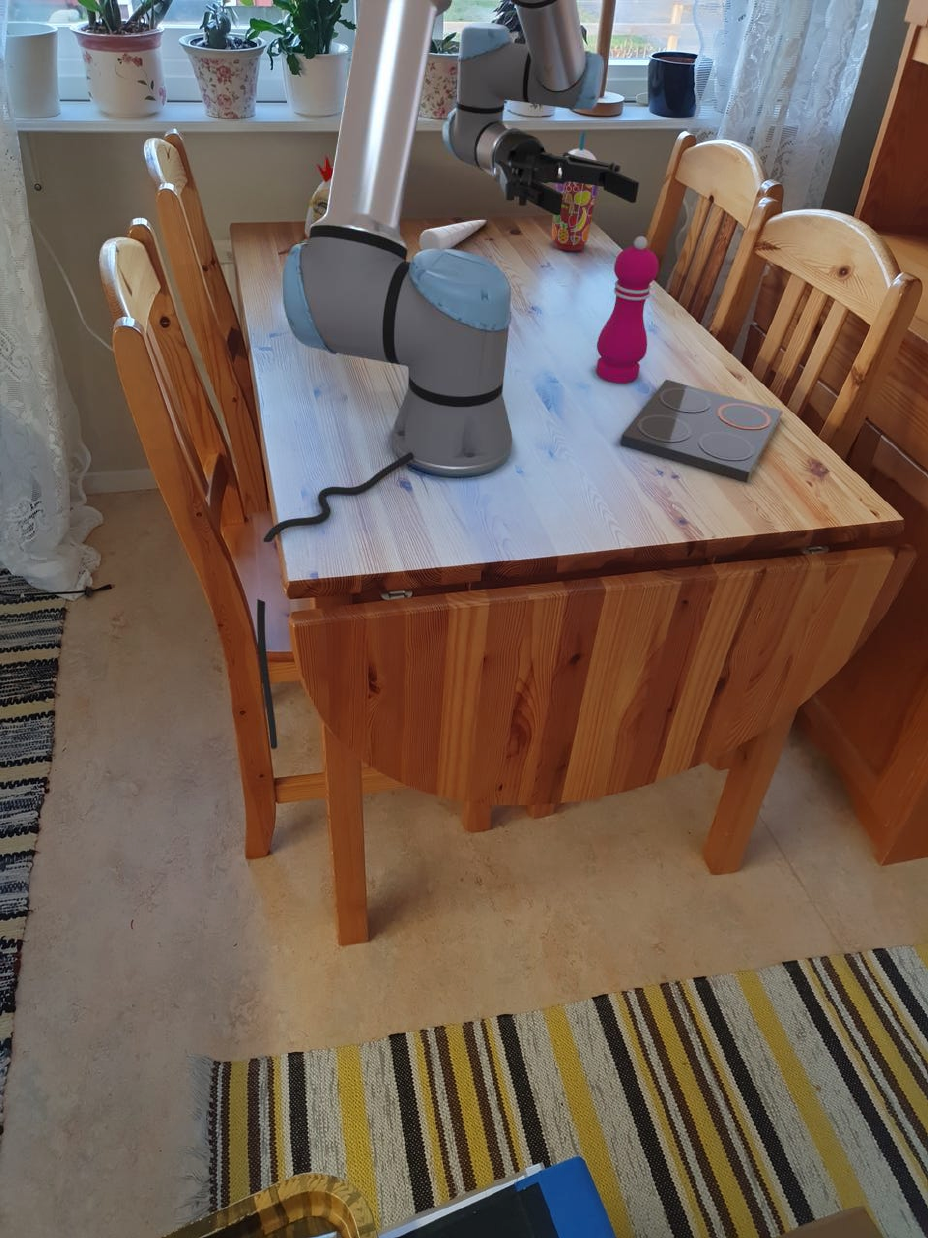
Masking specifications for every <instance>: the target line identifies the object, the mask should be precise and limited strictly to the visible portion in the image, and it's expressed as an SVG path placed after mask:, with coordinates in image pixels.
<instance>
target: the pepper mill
mask: <svg viewBox="0 0 928 1238" xmlns="http://www.w3.org/2000/svg"><path fill="white" fill-rule="evenodd" d="M647 246H648V240H647V238H646V237H645V236H642V235H640V236H637V237H636V238H635V239H634V241H633V246H629V247H627V248H625V249H623V250H622V251H621V252H619V254H618V255H617V257H616V258H615V261H614V266H613V272H614V275H615V277H616V281H615V283H614V288H613V293H614V295H616V296H615V301H614V306H613V308H612V312H611V314H610V316H609V318H608V320H607V321H606V323H605V325H604V326H603V327H602V329H601V332H600V334H599V336H598V339H597V343H596V349H597V352H598V354H599V356H600V357H599V358H598V359H597V363H596V369H595V372H596V375H597V376H598V377H599V378H600V379H602V380H604V381H606V382H609V383H613V384H629V383H633V382H634V381H636V380H638V377H639V375H640V374H639V373H640V368H641V366H640V363H639V362H640V361H642V360H643V359H644V358H645V356H646V354H647V349H648V336H647V331H646V326H645V322H644V308H645V303H646V299H648V298H649V297H650V296H651V295H650V294H651V293H650V291H651V289H652V286H651V283H652V282H654V281H655V279H656V278H657V275H658V273H659V260H658V258H657V255H656V254H655V253H654V252H653V251H652V250H651V249H648V248H647Z"/></svg>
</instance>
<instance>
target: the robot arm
mask: <svg viewBox="0 0 928 1238" xmlns="http://www.w3.org/2000/svg"><path fill="white" fill-rule="evenodd" d="M577 1H578V0H509V2H511V3H512V4H513V5H514V6H515V10H516V14H517V16H518V21H519V23H520V26H521V29H522V33H523V36H524V40H525V42H526V44H524V43H517V42H511V40H512V39H511V32H510V29H509V28H508V27H507V26H506V25H504V24H498V23H494V22H483V21H480V22H478V21H477V22H470V23H468V24H465V25H464V26H463V28H461V31H460V39H459V48H458V49H459V50H458V56H457V86H456V105H455V108H454V109H452V110H451V111H450V112H449V113H448V115H447V116H446V119H445V121H444V124H443V127H442V140H443V144H444V146H445V148H446V149H447V151H448V152H449V153H450V154H452V155H453V156H455V157H456V158H457V159H458V160H460V161H461V162H462V163H465V164H467V165H471V166H472V167H475V168H477V169H479V170H480V171H483V172H484V173H486V174H488V175H490V176H491V177H493V180H494V181H495V182H497V183H498V184H499V187H500V189H501V191H502V193H503V196H504V198H505V200H507V201H510V202H511V201H514V200H515V197H518V202H517V205H519V206H520V207H525V206H528V205H527V204H528V202H530V203H532V205H535V206H536V207H539V208H541V209H543V210H545V211H547V212H548V213H550V214H552V215H553V214H554V215H560V214H561V206H562V198H563V194H561V193H559V192H557V191H556V190H555V188H554V189H553V188H551V187H549V186H548V185H547V184H548V183H552V184H553V183H554V184H555V183H559V184H564V183H565V182H566V181H569V182H576V183H582V184H589V185H595V186H598V187H603V191H605V192H608V193H609V194H612V195H614V196H616V197H617V198H620V199H622V200H625V201H626V202H629V203H630V204H634V203H636V202H637V197H638V192H639V186H640V182H639V181H637V180H634V179H633V178H630V177H627V176H626V175H623V174H622V173H621V169H622V166H621V165H618V164H616V163H615V162H611V163H609V162H604V161H600V160H597V159H596V160H597V161H596V160H592V159H587V158H583V157H578V156H575V155H572V154H570V153H568V152H566V151H565V152H563V153H562V154H561V155H562V156H561V155H554V154H553V153H552V152H546V149H545V147H544V144H543V143H542V141H541V140H540V139H539V138H538V137H536V136H534V135H532V134H529V133H528V132H525V131H523V130H521V129H520V128H517V127H515V126H513V125H510V124H508V123H506V122H503V121H504V110H505V104H506V103H505V102H506V101H510V102H518V103H519V102H520V103H526V104H533V105H540V106H541V105H542V106H548V107H554V108H561V109H566V110H570V111H575V110H583V111H591V110H594V108H596V106H597V105H598V102H599V99H600V96H601V91H602V86H603V81H604V71H605V70H604V69H605V62H604V57H603V56H602V55H600V54H599V53H596V52H595V53H594V52H591V51H590V50H585V45H584V39H583V33H582V26H581V19H580V14H579V8H578V7H579V6H578V2H577ZM452 3H453V0H360V5H359V10H358V16H357V22H356V29H355V34H354V41H353V47H352V52H351V53H352V54H351V58H350V59H351V60H350V65H349V72H348V78H347V85H346V89H345V90H346V91H345V97H344V102H343V109H342V114H341V121H340V125H339V126H340V127H339V133H338V139H337V145H336V152H335V155H336V157H335V156H334V159H335V163H334V162H333V166H334V169H333V176H332V182H331V188H330V194H329V200H328V206H327V213H326V214H325V215H324V217H322V218H321V219H319V220H318V221H316V222H315V223H313V224H312V225H311V229H310V235H309V241H308V243H301V242H300V243H298V244H295V245H294V246H292V247H291V249H290V250H289V252H288V256H287V257H286V258H285V259H286V260H285V263H284V266H283V276H282V299H283V308H284V313H285V317H286V319H287V324H288V326H289V328H290V331H291V332H292V334H293V335H294V337H295V339H296V340H297V341H298V342H300V343H301V344H302V345H304V346H305V347H308V348H312V349H317V350H321V351H325V352H327V353H329V354H331V355H337V354H339V355H345V356H351V357H357V358H360V359H361V358H362V359H367V360H373V361H378V362H384V363H389V364H394V365H400V366H405V367H407V369H408V372H407V373H408V380H407V381H408V382H407V383H408V384H407V390H406V393H405V395H404V398H403V401H402V403H401V406H400V408H399V411H398V414H397V417H396V419H395V422H394V424H393V430H392V448H393V451H394V453H395V454H396V456H397V457H398V459H396V460H394V461H393V462H391V463H390V464H389V465H387V466H385V467H384V468H382V469H381V470H380V471H379V472H377V473H376V474H374V475H373V476H372V477H371V478H369V479H368V480H367V481H365V482H363V483H362V484H359V485H356V486H351V487H346V486H345V487H343V486H329V487H325V488H323V489H322V490H321V491H319V493H318V495H317V500H318V503H319V505H320V507H321V510H322V512H320V513H319V514H318V515H315V516H309V517H296V518H290V519H285V520H283V521H281V522H279V523H277V524H275V525H274V526H273V527H272V528H270V529H269V531H268V532H267V533H266V534H265V536H264V537H263V539H262V541H263V543H270V542H272V541H273V540H274V538H275V537H276V536H277V535H278V534H279V533H281V532H282V531H283V530H286V529H290V528H295V527H303V526H313V525H317V524H320V523H323V522H324V521H326V520H327V519H328V518H329V517H330V515H331V507H330V504H329V503H328V501H327V499H326V498H327V497H328V496H329V495H343V496H344V495H346V496H347V495H348V496H351V495H358V494H361V493H364V492H366V491H367V490H369V489H371V488H373V487H374V486H375V485H377V484H378V483H379V482H380V481H381V480H382V479H384V478H385V477H387V476H388V475H390V474H391V473H392V472H395V471H396V470H397V469H399V468H400V467H402V466H404V465H405V464H406V465H408V466H409V467H412V468H414V469H415V470H417V471H420V472H423V473H426V474H430V475H434V476H440V477H448V478H449V477H450V478H465V477H473V476H475V477H476V476H478V475H479V476H480V475H483V474H487V473H490V472H492V471H494V470H496V469H498V468H500V467H501V466H503V465H504V464H505V463H506V462H508V460H509V458H510V456H511V454H512V448H513V447H512V446H513V434H512V432H513V431H512V428H511V424H510V420H509V415H508V411H507V408H506V403H505V399H504V395H503V391H504V379H505V370H506V359H507V352H508V351H507V349H508V341H509V340H508V339H509V331H510V325H511V322H512V312H511V300H512V299H511V298H512V287H511V283H510V280H509V278H508V277H507V275H506V274H505V272H503V271H502V269H500V268H499V267H498V266H497V265H496V264H494V263H493V262H492V261H490V260H488V259H486V258H484V257H481V256H479V255H476V254H473V253H471V252H467V251H463V250H459V249H453V248H450V249H444V250H439V249H427V250H424V251H421V250H420V251H419V252H417V253H415V255H414V256H413V257H412V259H411V261H407V258H408V251H409V247H408V245H407V244H406V243H405V241H404V239H403V238H402V236H401V233H400V234H399V231H398V229H399V226H400V222H401V217H402V211H403V205H404V199H405V194H406V188H407V183H408V178H409V173H410V166H411V160H412V154H413V148H414V144H415V143H414V142H415V138H416V131H417V126H418V120H419V114H420V110H421V109H420V108H421V103H422V98H423V91H424V86H425V80H426V75H427V69H428V63H429V58H430V53H431V52H430V51H431V46H432V39H433V34H434V29H435V23H436V18H438V17H439V16H440V15H442V14H443V13H445V12H447V10H449V9H450V7H452ZM559 168H561V171H562V175H561V178H559V177H558V172H559ZM256 604H257V605H256V632H257V634H256V635H257V649H258V660H259V666H260V676H261V680H262V690H263V695H264V696H263V697H264V701H265V709H266V716H267V724H268V733H269V747H270V749H271V750H276V749H277V748H278V738H277V737H278V736H277V726H276V720H275V710H274V702H273V695H272V691H271V690H272V687H271V680H270V674H269V673H270V672H269V665H268V658H267V646H266V645H267V644H266V601H264V600H261V599H259V598H257V602H256Z"/></svg>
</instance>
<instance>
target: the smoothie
mask: <svg viewBox="0 0 928 1238" xmlns="http://www.w3.org/2000/svg"><path fill="white" fill-rule="evenodd" d="M585 137H586V132H585V131H581V134H580V143H579V147H578V148H573V149H571V150H569V151H568V152H567V153H570V154H572V155H575V156H578V157H583V158H587V159H592V160H596V161H598V160H597V158H596V156H595V155H594V154H593V152H591V151H589V150H588V149H585V148H584V143H585ZM561 175H562V171H561V168H559V172H558V177H559V178H561ZM598 188H599V186H595V185H589V184H582V183H576V182H569V181H566V182H565V183H564V184H559V183H554V190H556V191H557V192H559V193H561V194H563V198H562V206H561V214H560V215H554V214H552V227H551V240H553V246H554V247H555V248H556V249H558V250H562V251H565V252H576V251H580V250H582V249H583V248H584V247H585V244H586V243H587V242H588V239H589V233H590V227H591V223H592V218H593V213H594V209H595V204H596V199H597V194H598Z"/></svg>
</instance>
